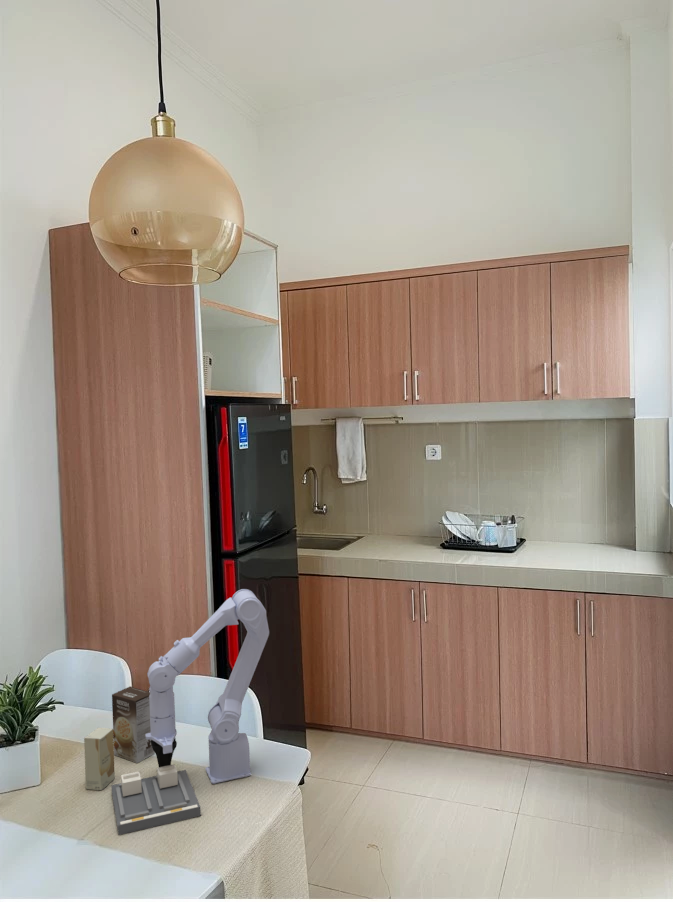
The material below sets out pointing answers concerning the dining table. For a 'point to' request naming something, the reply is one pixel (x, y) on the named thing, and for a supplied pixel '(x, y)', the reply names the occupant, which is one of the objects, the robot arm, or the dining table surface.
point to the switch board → (154, 804)
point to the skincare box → (99, 758)
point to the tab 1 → (131, 783)
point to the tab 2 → (167, 776)
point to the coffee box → (131, 724)
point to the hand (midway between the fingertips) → (164, 770)
